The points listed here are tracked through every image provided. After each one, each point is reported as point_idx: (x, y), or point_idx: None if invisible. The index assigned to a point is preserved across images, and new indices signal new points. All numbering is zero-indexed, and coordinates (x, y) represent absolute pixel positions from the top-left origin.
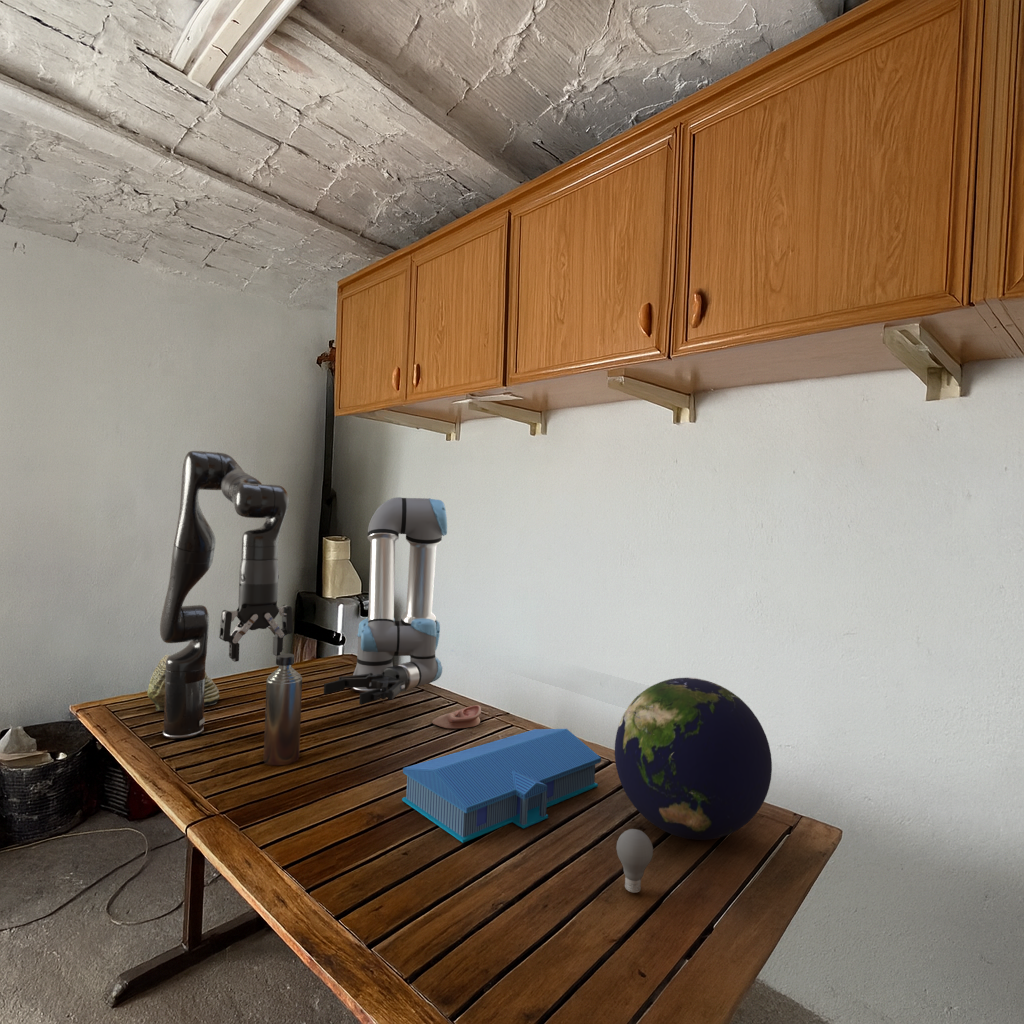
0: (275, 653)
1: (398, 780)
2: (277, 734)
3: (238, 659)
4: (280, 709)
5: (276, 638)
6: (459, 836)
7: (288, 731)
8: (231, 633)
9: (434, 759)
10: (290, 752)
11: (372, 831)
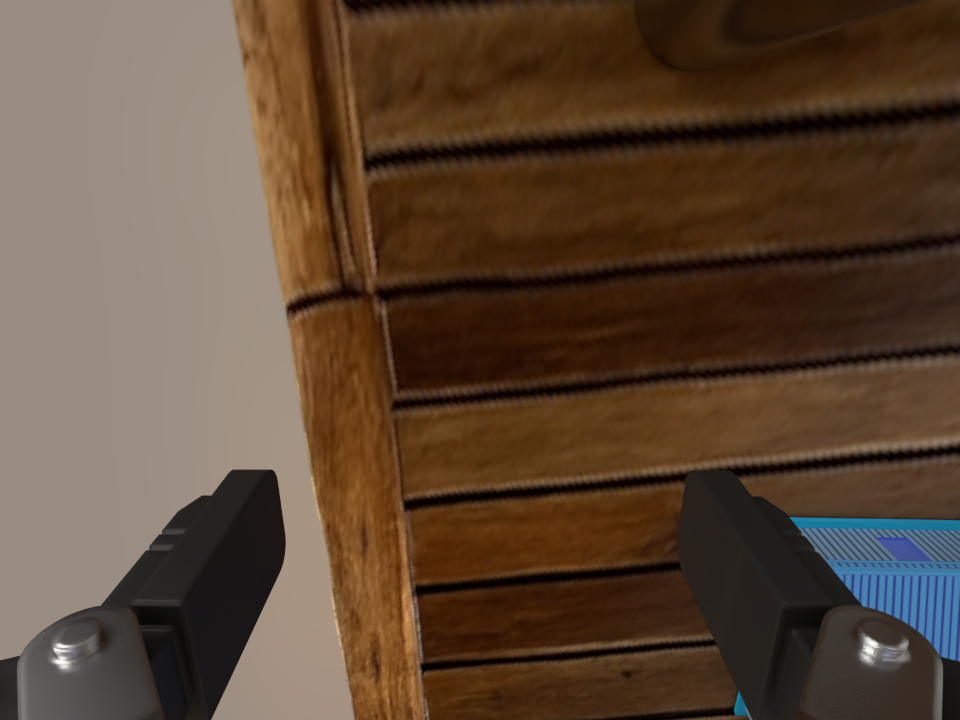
0: (686, 538)
1: (865, 414)
2: (696, 32)
3: (275, 570)
4: (758, 14)
5: (761, 696)
6: (742, 703)
7: (744, 53)
8: (19, 717)
9: (942, 581)
10: (717, 66)
11: (630, 582)
